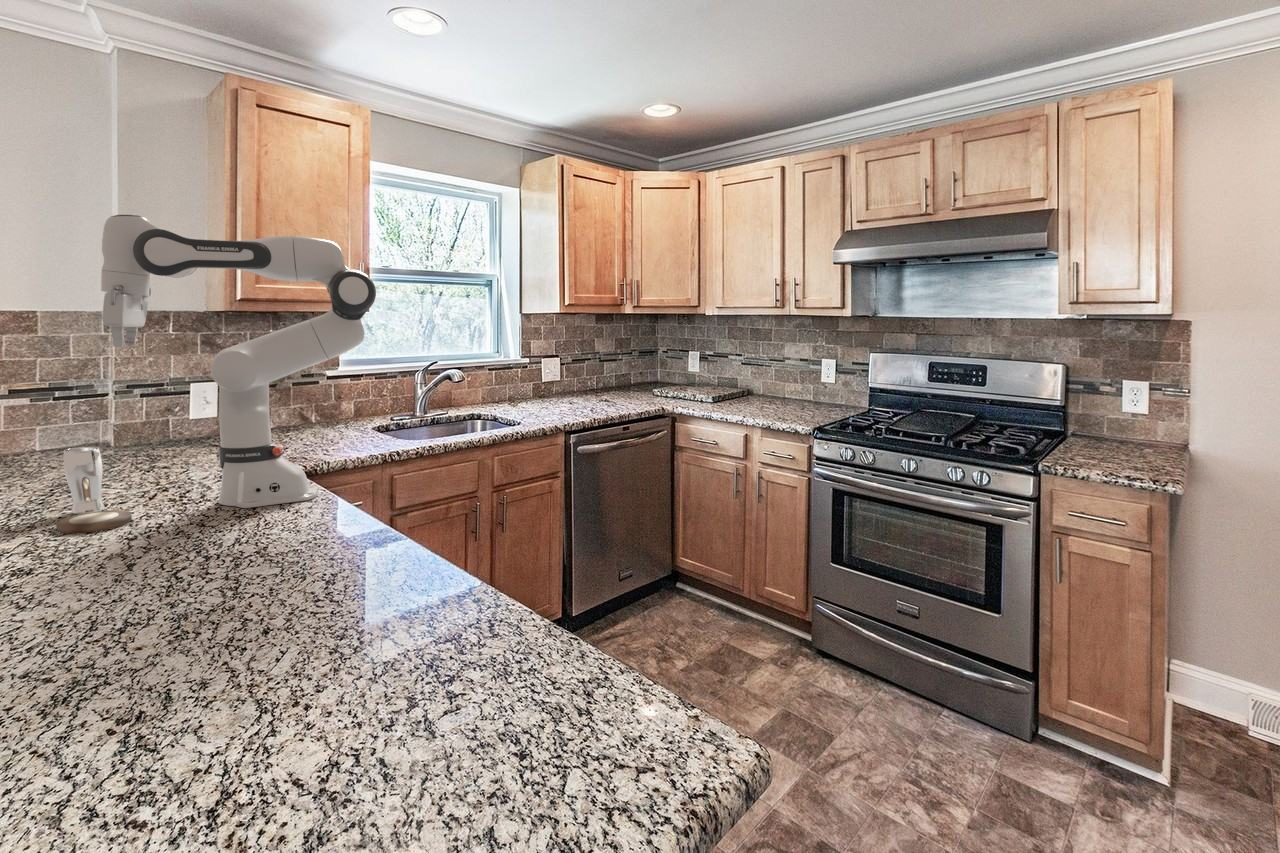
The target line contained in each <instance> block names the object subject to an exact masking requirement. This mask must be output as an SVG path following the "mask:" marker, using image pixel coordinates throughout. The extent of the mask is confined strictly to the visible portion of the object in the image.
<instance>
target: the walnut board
mask: <svg viewBox="0 0 1280 853" xmlns="http://www.w3.org/2000/svg"><path fill="white" fill-rule="evenodd" d="M131 520H132V512H130V511H127V510H124V509H123V510H121V509H118V510H117V509H116V510H115V509H111V510H103V511H97V512H90V513H84V514H73V515H71V516H67V517H64V518H61V519H59V520H58V521H56V523H55V528H56V532H57V531H58V532H57V533H59V532H60V534H64V533H71V534H70V535H73V534H72V533H75V534H74V535H77V534H76V533H82V534H88V533H87V532H92V533H97V532H96V531H99V532H102V531H101V530H104V531H108V530H107V529H109V530H112V529H111V528H113V529H117V528H119V526H121V527H123V526H125V525H124V524H126V525H128V524H130V523H131V522H132V521H133V520H132V521H131ZM130 521H131V522H130ZM129 522H130V523H129ZM127 523H128V524H127ZM122 525H123V526H122ZM116 527H117V528H116Z"/></svg>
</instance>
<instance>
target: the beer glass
mask: <svg viewBox="0 0 1280 853" xmlns="http://www.w3.org/2000/svg"><path fill="white" fill-rule="evenodd" d="M63 469H64V475H65V479H66V481H67V485H68V487H69V490H70V493H71V498H72V506H71V507H72V509H71V513H72V514H73V515H79V514H84V513H90V512H97V511H102V510H103V511H105V510H106V507H105V505H104V504H105V503H104V500H103V498H102V484H103V475H104V474H103V473H104V472H103V470H104V468H103V459H102V456H101V452H100V447H98V446H80V447H71V448H66V449H64V450H63Z"/></svg>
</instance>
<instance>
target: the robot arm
mask: <svg viewBox="0 0 1280 853" xmlns="http://www.w3.org/2000/svg"><path fill="white" fill-rule="evenodd" d="M101 240H102V241H101V253H102V256H103V264H102V266H101V274H100V275H101V278H100V280H101V283H100V285H101V287H100V288H101V290H100V291H101V292H104V297H103V306H102V323H103V325H104V326H105V327H110V333H111V337H112V338H111V339H112V346H113V347H114V348H123V347H124V346H127V347H128V346H129V347H135V346H136V344H137V343H136V341H137V340H136V339H137V336H138V332H139V331H138V330H139V328H143V327H144V326H146V325H145V324H146V321H147V313H148V304H149V300H148V298H151V296H152V288H151V286H150V278H151V277H150V275H151V274H152V275H155V276H161V277H163V276H164V277H167V278H168V277H169V278H172V279H173V278H174V279H175V278H176V279H179V278H184V277H187V276H191V274H193V273H194V272H195V271H196V270H197V269H228V270H229V269H233V270H239V271H243V272H244V271H245V272H249V273H253V274H255V275H257V276H261V277H263V278H266V279H270V280H276V281H282V282H283V281H284V282H299V283H300V282H309V283H310V282H311V283H312V282H313V283H318V284H322V285H324V286H325V287H326V290H327V293H328V296H329V299H330V301H331V308H330V309H329V310H328V311H327V312H325V313H324V314H321V315H318V316H315V317H313V318H310V319H307V320H303V321H301V322H297V323H296V324H292V325H289V326H288V327H284V328H281V329H278V330H276V331H273V332H269V333H266V334H263V335H261V336H258V337H256V338H253V339H249V340H247V341H243V342H241V343H237V344H235V345H232V346H230V347H229V346H228V347H227V348H223V349H222V350H220V351H218V352H217V353H216V354H215V355H214V357H213V358H212V361H211V362H210V373H211V374H210V375H211V377H212V379H213V381H214V382H215V383H216V384H217V386H219V392H218V394H219V396H218V400H219V401H218V403H219V404H218V423H219V435H220V436H219V438H220V447H219V450H218V456H219V465H220V468H221V485H220V493H219V498H218V500H217V503H218V504H220V505H222V506H230V507H238V508H241V509H248V508H250V509H251V508H256V507H257V508H258V507H265V506H272V505H279V504H287V503H289V504H290V503H296V502H303V501H305V502H306V501H309V500H310V501H311V500H312V499H314V498H315V497H317V496H318V494H319V492H318V490H319V489H318V488H317V487H316V486H315V485H311V484H309V481H308V478H307V474H306V473H305V471H304V470H303V468H301V467H300V466H298V465H296V464H294V463H293V462H291V461H289V460H288V459H286V458H285V457H282V451H283V449H282V447H281V445H280V444H279V443H278V444H276V443H274V442H272V433H271V432H272V431H271V419H270V383H272V382H275V381H277V380H279V379H282V378H286V377H288V376H289V375H293V374H295V373H297V372H299V371H302V370H305V369H307V368H310V367H312V366H313V367H314V366H315V365H318V364H322V363H324V362H327V361H329V360H332V359H334V358H337V357H338V356H341V355H343V354H345V353H347V352H349V351H351V350H353V349H354V348H356V347H358V346H359V345H361V344H362V343H363V341H364V339H365V329H364V325H363V322H362V318H364V317H363V316H364V315H365V314H366V313H367V312H368V311H369V310H370V308H371V307H372V306H373V304H374V303H375V301H376V296H377V289H376V285H375V283H374V281H373V280H372V279H371V277H370V276H369V275H367V273H365V272H362V271H360V270H357V269H350V268H349V267H347V265H346V264H345V256H344V253H343V251H342V249H341V248H340V246H339V245H338V244H337V243H335V242H334V241H331V240H326V239H322V238H316V237H309V236H308V237H307V236H295V235H294V236H293V235H285V236H282V235H279V236H278V235H277V236H268V237H262V238H261V237H260V238H253V239H245V240H217V239H215V240H214V239H197V238H190V237H189V238H188V237H184V236H181V235H179V234H177V233H174V232H172V231H170V230H166V229H162V228H161V227H159V226H157V225H155V224H154V223H152V222H151V221H149V219H147V218H146V217H144V216H141V215H135V214H134V215H133V214H117V215H111V216H110V217H108V218H107V219H106V220H105V222H104V225H103V231H102V239H101ZM124 333H125V337H124Z"/></svg>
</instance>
